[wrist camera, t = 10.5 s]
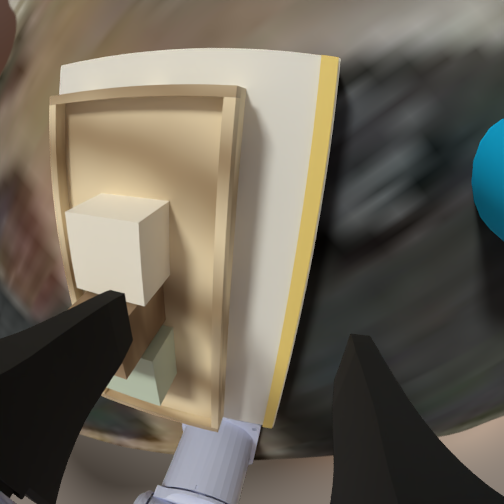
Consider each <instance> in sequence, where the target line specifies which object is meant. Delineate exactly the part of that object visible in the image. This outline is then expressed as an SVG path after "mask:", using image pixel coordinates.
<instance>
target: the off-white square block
mask: <svg viewBox="0 0 504 504" xmlns="http://www.w3.org/2000/svg"><path fill="white" fill-rule="evenodd" d="M65 216H66V224H67V232H68V239H69V246H70V252H71V259H72V264H73V270H74V275H75V280H76V285H77V288H79V289H83V290H86V291H89V292H93V293H96V294H101V293H103V292H106V291H108V290H113V291H117V292H121V293H125V298H126V302H129V303H133V304H137V305H141V306H146V304H147V303H148V302H149V301H150V299H151V298H152V297H153V296H154V294H155V293H156V292H157V291H158V289H159V288H160V287H161V286H162V284H163V283H164V282H165V281H166V279H167V278H168V277H169V276H170V250H169V201H165V200H157V199H148V198H140V197H131V196H123V195H114V194H104V193H101V194H99V195H97V196H95V197H93V198H91V199H89V200H87V201H85V202H83V203H81V204H79V205H77V206H75V207H73V208H71V209H69V210H67V211H66V212H65Z"/></svg>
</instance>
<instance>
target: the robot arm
mask: <svg viewBox="0 0 504 504" xmlns="http://www.w3.org/2000/svg"><path fill="white" fill-rule="evenodd" d="M132 341H133V337H132V332H131V327H130V321H129V316H128V310H127V304H126V298H125V293H121V292H117V291H113V290H108V291H106V292H103V293H101V294H99V295H97V296H95V297H92V298H90V299H88V300H86V301H84V302H82V303H80V304H78V305H76V306H74V307H72V308H70V309H68V310H67V311H65V312H63V313H61V314H59V315H57V316H54V317H52V318H50V319H48V320H46V321H44V322H41V323H39V324H37V325H35V326H33V327H31V328H28V329H26V330H23V331H21V332H18V333H16V334H13V335H10V336H7V337H4V338H1V339H0V504H16V503H15V502H14V501H12V500H11V499H10V497H11V495H12V494H14V495H16V496H17V497H18V498H20V499H23V498H24V496H26V497H28V498H29V499H31V500H32V501H33V502H35V503H37V504H56V500H57V496H58V491H59V488H60V484H61V480H62V477H63V474H64V471H65V468H66V465H67V462H68V459H69V457H70V454H71V452H72V449H73V447H74V444H75V442H76V439H77V437H78V435H79V433H80V431H81V429H82V427H83V424H84V422H85V420H86V418H87V417H88V415H89V413H90V411H91V410H92V408H93V407H94V405H95V404H96V402H97V401H98V399H99V398H100V396H101V395H102V393H103V392H104V390H105V389H106V387H107V386H108V384H109V383H110V381H111V379H112V378H113V376H114V375H115V373H116V372H117V370H118V369H119V367H120V366H121V364H122V362H123V360H124V358H125V356H126V354H127V352H128V350H129V348H130V346H131V344H132ZM332 416H333V451H334V474H333V476H334V477H333V487H332V494H331V502H330V504H504V496H502V495H501V494H499V493H498V492H496V491H495V490H494V489H492V488H491V487H489V486H488V485H487V484H485V483H484V482H483V481H482V480H481V479H479V478H478V477H477V476H476V475H475V474H473V473H472V472H471V471H470V470H469V469H468V468H467V467H466V466H464V464H462V463H461V462H460V461H459V460H458V459H457V458H456V456H455V455H453V454H452V453H451V451H450V450H449V449H448V448H447V447H446V446H445V445H444V444H443V443H442V442H441V441H440V440H439V438H438V437H437V436H436V435H435V434H434V432H433V431H432V430H431V429H430V428H429V426H428V425H427V424H426V423H425V421H424V420H423V419H422V417H421V416H420V415H419V413H418V412H417V411H416V409H415V408H414V406H413V405H412V404H411V402H410V401H409V399H408V398H407V396H406V395H405V393H404V392H403V390H402V388H401V387H400V385H399V384H398V382H397V381H396V379H395V377H394V376H393V374H392V372H391V371H390V369H389V367H388V366H387V364H386V362H385V361H384V359H383V357H382V356H381V354H380V352H379V350H378V349H377V347H376V345H375V344H374V342H373V340H372V339H371V337H370V336H365V335H357V334H350V337H349V340H348V343H347V346H346V349H345V352H344V355H343V357H342V360H341V363H340V366H339V369H338V371H337V374H336V377H335V379H334V392H333V405H332ZM182 427H183V434H182V437H181V439H180V442H179V444H178V447H177V449H176V452H175V454H174V456H173V459H172V461H171V464H170V466H169V469H168V471H167V473H166V476H165V479H164V481H163V483H162V486H160V485H157V488H156V490H155V492H152V491H147V492H144V493H142V494H140V495H139V496H138V497H137V499H136V500H135V502H134V504H239V501H240V497H241V493H242V489H243V485H244V480H245V476H246V472H247V468H248V465H251V464H253V460H254V456H255V451H256V447H257V442H258V438H259V433H260V429H261V425H260V424H254V423H249V422H244V421H239V420H234V419H229V418H225V417H223V418H222V421H221V425H220V428H219V431H218V432H214V431H210V430H206V429H202V428H198V427H194V426H190V425H186V424H183V423H182Z"/></svg>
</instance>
